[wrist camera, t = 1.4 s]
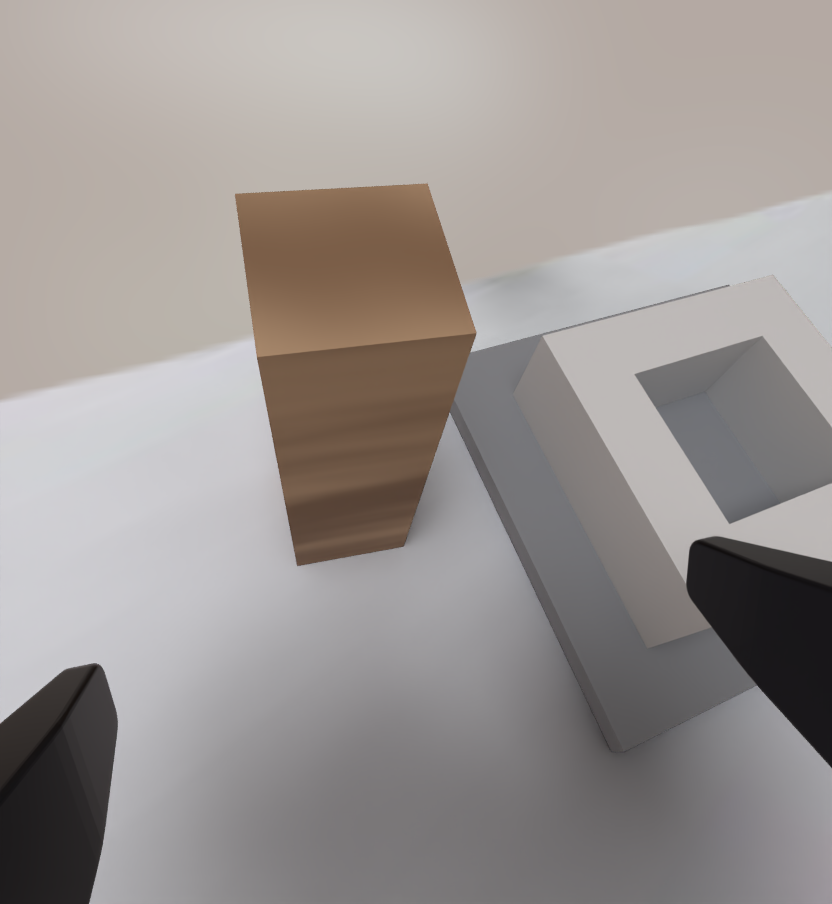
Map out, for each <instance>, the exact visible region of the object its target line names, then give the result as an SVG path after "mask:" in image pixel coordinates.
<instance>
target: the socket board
mask: <svg viewBox="0 0 832 904" xmlns="http://www.w3.org/2000/svg"><path fill="white" fill-rule="evenodd" d="M450 413H451V415H452V417H453V419H454V421H455V423H456V425H457V427H458V429H459V432H460V434H461V436H462V438H463V440H464V442H465V444H466V446H467V448H468V451H469V453H470V455H471V457H472V459H473V461H474V463H475V465H476V467H477V469H478V472H479V474H480V476H481V478H482V480H483V482H484V484H485V486H486V488H487V491H488V493H489V495H490V497H491V499H492V501H493V503H494V505H495V507H496V510H497V512H498V514H499V516H500V518H501V520H502V522H503V524H504V526H505V529H506V531H507V533H508V535H509V537H510V539H511V541H512V543H513V545H514V548H515V550H516V552H517V554H518V556H519V558H520V560H521V562H522V564H523V566H524V569H525V571H526V573H527V575H528V577H529V579H530V581H531V583H532V585H533V588H534V590H535V592H536V594H537V596H538V598H539V600H540V602H541V604H542V607H543V609H544V611H545V613H546V615H547V617H548V619H549V621H550V623H551V626H552V628H553V630H554V632H555V634H556V636H557V638H558V640H559V642H560V645H561V647H562V649H563V651H564V653H565V655H566V657H567V659H568V661H569V663H570V666H571V668H572V670H573V672H574V674H575V676H576V678H577V680H578V682H579V685H580V687H581V689H582V691H583V693H584V695H585V697H586V699H587V701H588V704H589V706H590V708H591V710H592V712H593V714H594V716H595V718H596V720H597V723H598V725H599V727H600V729H601V731H602V733H603V735H604V737H605V739H606V742H607V744H608V746H609V748H610V750H611V752H625V751H627V750H629V749H631V748H633V747H635V746H637V745H639V744H641V743H643V742H645V741H647V740H649V739H651V738H653V737H655V736H657V735H659V734H661V733H663V732H665V731H667V730H669V729H671V728H673V727H675V726H677V725H679V724H681V723H683V722H685V721H687V720H689V719H691V718H693V717H695V716H697V715H699V714H701V713H703V712H705V711H707V710H709V709H711V708H713V707H715V706H716V705H718V704H720V703H722V702H724V701H726V700H728V699H730V698H732V697H734V696H736V695H738V694H740V693H742V692H744V691H746V690H748V689H750V688H752V687H754V686H756V683H755V682H754V681H753V680H752V679H751V678H750V677H749V675H748V674H747V673H746V672H745V670H744V669H743V668H742V667H741V665H740V664H739V663H738V662H737V660H736V659H735V658H734V656H733V655H732V654H731V652H730V651H729V650H728V648H727V647H726V646H725V644H724V643H723V642H722V640H721V639H720V638H719V636H718V635H717V634H716V632H715V631H714V630H713V628H712V627H711V626H710V624H709V623H708V622H707V620H706V619H705V618H704V616H703V615H702V614H701V612H700V611H699V610H698V608H697V607H696V606H695V604H694V603H693V602H692V600H691V599H690V597H689V595H688V592H687V588H686V578H687V568H688V557H689V549H690V546H691V544H692V543H693V542H694V541H695V540H698V539H703V538H707V537H712V536H720V537H725V538H729V539H734V540H738V541H742V542H747V543H751V544H756V545H760V546H765V547H769V548H773V549H778V550H782V551H787V552H791V553H796V554H800V555H805V556H809V557H813V558H818V559H822V560H827V561H831V562H832V347H831V346H830V345H829V343H828V342H827V341H826V340H825V338H824V337H823V336H822V335H821V333H820V332H819V331H818V330H817V328H816V327H815V326H814V325H813V324H812V322H811V321H810V320H809V319H808V317H807V316H806V315H805V314H804V312H803V311H802V310H801V309H800V307H799V306H798V305H797V304H796V302H795V301H794V300H793V299H792V297H791V296H790V295H789V294H788V293H787V291H786V290H785V289H784V288H783V286H782V285H781V284H780V283H779V281H778V280H777V279H776V278H775V276H774V275H770V276H767V277H763V278H759V279H755V280H752V281H748V282H744V283H740V284H736V285H733V286H730V285H726V286H722V287H718V288H714V289H711V290H707V291H703V292H699V293H695V294H692V295H688V296H684V297H680V298H676V299H673V300H669V301H665V302H661V303H658V304H654V305H650V306H646V307H642V308H639V309H635V310H631V311H627V312H623V313H620V314H616V315H612V316H608V317H604V318H601V319H597V320H593V321H589V322H585V323H582V324H578V325H574V326H570V327H566V328H563V329H559V330H555V331H551V332H547V333H544V334H540V335H536V336H532V337H528V338H525V339H521V340H517V341H513V342H509V343H506V344H502V345H498V346H494V347H490V348H487V349H483V350H479V351H475V352H471V353H470V354H469V357H468V360H467V363H466V365H465V368H464V371H463V374H462V377H461V380H460V383H459V386H458V389H457V392H456V395H455V398H454V401H453V403H452V406H451V409H450Z"/></svg>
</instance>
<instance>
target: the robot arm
mask: <svg viewBox="0 0 832 904" xmlns="http://www.w3.org/2000/svg"><path fill="white" fill-rule="evenodd" d="M686 588H687V592H688V595H689V597H690V599H691V600H692V602H693V603H694V604H695V606H696V607H697V608H698V610H699V611H700V612H701V614H702V615H703V616H704V618H705V619H706V620H707V622H708V623H709V624H710V626H711V627H712V628H713V630H714V631H715V632H716V634H717V635H718V636H719V638H720V639H721V640H722V642H723V643H724V644H725V646H726V647H727V648H728V650H729V651H730V652H731V654H732V655H733V656H734V658H735V659H736V660H737V662H738V663H739V664H740V665H741V667H742V668H743V669H744V670H745V672H746V673H747V674H748V675H749V677H750V678H751V679H752V680H753V681H754V682H755V683H756V685H757V686H758V687H759V688H760V689H761V690H762V691H763V692H764V694H765V695H766V696H767V697H768V698H769V699H770V700H771V701H772V702H773V704H774V705H775V706H776V707H777V708H778V709H779V710H780V711H781V712H782V713H783V715H784V716H785V717H786V718H787V719H788V720H789V721H790V722H791V723H792V725H793V726H794V727H795V728H796V729H797V730H798V731H799V732H800V733H801V734H802V736H803V737H804V738H805V739H806V740H807V741H808V742H809V743H810V744H811V746H812V747H813V748H814V749H815V750H816V751H817V752H818V753H819V754H820V755H821V757H822V758H823V759H824V760H825V761H826V762H827V763H828V764H829V765H830V766H831V768H832V562H831V561H827V560H822V559H818V558H813V557H809V556H805V555H800V554H796V553H791V552H787V551H782V550H778V549H773V548H769V547H765V546H760V545H756V544H751V543H747V542H742V541H738V540H734V539H729V538H725V537H720V536H712V537H707V538H703V539H698V540H695V541H694V542H693V543H692V544H691V546H690V549H689V557H688V568H687V578H686ZM117 730H118V720H117V712H116V708H115V705H114V702H113V699H112V695H111V692H110V689H109V685H108V682H107V679H106V675H105V672H104V670H103V668H102V667H101V666H100V665H99V664H97V663H93V664H88V665H83V666H78V667H73V668H68V669H66V670H64V671H63V672H61V673H60V674H59V675H58V676H56V677H55V678H54V679H53V680H52V681H50V682H49V683H48V684H47V685H46V686H44V687H43V688H42V689H41V690H40V691H39V692H37V693H36V694H35V695H34V696H33V697H31V698H30V699H29V700H28V701H27V702H25V703H24V704H23V705H22V706H21V707H19V708H18V709H17V710H16V711H15V712H13V713H12V714H11V715H10V716H9V717H8V718H6V719H5V720H4V721H3V722H2V723H0V904H89V902H90V898H91V893H92V889H93V885H94V881H95V877H96V873H97V869H98V864H99V860H100V855H101V850H102V846H103V839H104V833H105V826H106V818H107V810H108V802H109V794H110V786H111V778H112V770H113V762H114V755H115V747H116V739H117Z"/></svg>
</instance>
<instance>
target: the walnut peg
mask: <svg viewBox="0 0 832 904" xmlns="http://www.w3.org/2000/svg"><path fill="white" fill-rule="evenodd" d="M235 198H236V205H237V212H238V220H239V227H240V234H241V242H242V249H243V257H244V263H245V272H246V279H247V287H248V294H249V301H250V308H251V316H252V324H253V330H254V338H255V346H256V353H257V360H258V365H259V370H260V375H261V380H262V386H263V391H264V396H265V401H266V406H267V412H268V417H269V422H270V427H271V432H272V437H273V443H274V448H275V453H276V458H277V463H278V469H279V474H280V479H281V484H282V489H283V495H284V500H285V505H286V510H287V515H288V521H289V526H290V531H291V536H292V541H293V546H294V552H295V557H296V562H297V566H299V565H305V564H310V563H316V562H321V561H327V560H332V559H338V558H343V557H349V556H354V555H360V554H365V553H371V552H376V551H382V550H387V549H393V548H398V547H404V544H405V541H406V538H407V535H408V532H409V529H410V526H411V523H412V520H413V517H414V515H415V512H416V509H417V506H418V503H419V500H420V497H421V494H422V491H423V488H424V485H425V482H426V479H427V477H428V474H429V471H430V468H431V465H432V462H433V459H434V456H435V453H436V450H437V447H438V444H439V441H440V439H441V436H442V433H443V430H444V427H445V424H446V421H447V418H448V415H449V412H450V409H451V406H452V403H453V401H454V398H455V395H456V392H457V389H458V386H459V383H460V380H461V377H462V374H463V371H464V368H465V365H466V363H467V360H468V357H469V354H470V351H471V348H472V345H473V342H474V339H475V336H476V330H475V327H474V324H473V321H472V318H471V315H470V312H469V309H468V306H467V303H466V300H465V297H464V293H463V290H462V287H461V284H460V281H459V278H458V275H457V272H456V269H455V266H454V263H453V260H452V257H451V254H450V251H449V248H448V245H447V242H446V239H445V236H444V233H443V230H442V226H441V223H440V220H439V217H438V214H437V211H436V208H435V205H434V202H433V199H432V196H431V193H430V190H429V187H428V184H413V185H393V186H374V187H357V188H337V189H319V190H301V191H300V190H299V191H280V192H261V193H243V194H235Z"/></svg>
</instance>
